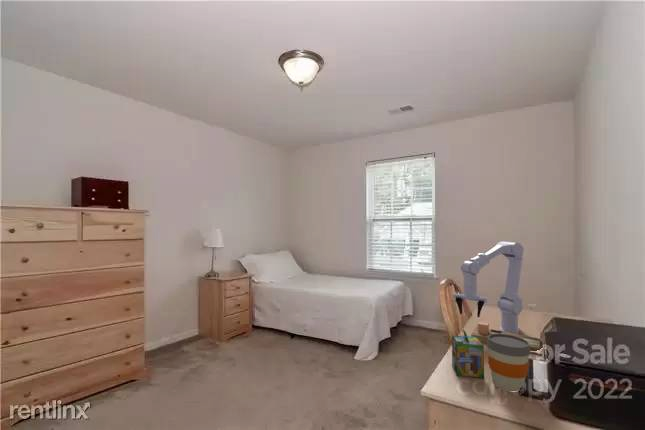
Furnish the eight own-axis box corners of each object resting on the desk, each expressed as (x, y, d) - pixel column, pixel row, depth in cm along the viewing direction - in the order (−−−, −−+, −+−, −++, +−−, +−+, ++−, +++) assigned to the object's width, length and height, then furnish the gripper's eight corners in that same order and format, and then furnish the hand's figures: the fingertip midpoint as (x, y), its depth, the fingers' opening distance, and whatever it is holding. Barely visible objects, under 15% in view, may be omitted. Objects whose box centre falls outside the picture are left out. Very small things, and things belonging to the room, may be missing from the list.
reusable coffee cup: (537, 388, 104) (537, 342, 105) (518, 400, 98) (518, 351, 98) (498, 372, 115) (499, 330, 115) (479, 381, 108) (479, 337, 108)
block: (479, 329, 151) (479, 321, 151) (488, 331, 149) (488, 323, 149) (477, 332, 148) (477, 323, 148) (487, 334, 146) (487, 325, 146)
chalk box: (484, 379, 110) (484, 336, 110) (456, 376, 112) (456, 334, 112) (477, 366, 119) (477, 327, 119) (451, 364, 121) (451, 325, 121)
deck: (476, 331, 156) (476, 320, 156) (542, 344, 141) (542, 332, 141) (471, 339, 146) (471, 327, 146) (542, 355, 130) (542, 341, 130)
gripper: (451, 285, 152) (451, 314, 152) (485, 290, 144) (485, 320, 144) (455, 283, 158) (455, 310, 158) (487, 287, 150) (487, 316, 150)
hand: (469, 315), depth 151 cm, fingers open, 7 cm apart
